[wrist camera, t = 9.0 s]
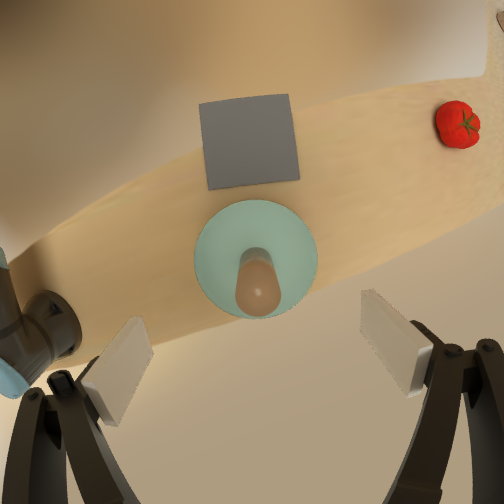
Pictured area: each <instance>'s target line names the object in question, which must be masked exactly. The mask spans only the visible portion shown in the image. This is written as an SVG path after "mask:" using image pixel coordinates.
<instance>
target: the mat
mask: <svg viewBox="0 0 504 504" xmlns="http://www.w3.org/2000/svg"><path fill="white" fill-rule="evenodd" d="M199 112H200V121H201V131H202V140H203V149H204V158H205V166H206V174H207V182H208V190H214V189H221V188H228V187H236V186H244V185H252V184H261V183H270V182H280V181H290V180H300V175H299V166H298V158H297V150H296V142H295V135H294V128H293V121H292V114H291V108H290V101H289V95H288V94H277V95H264V96H254V97H245V98H237V99H229V100H222V101H215V102H209V103H203V104H199Z"/></svg>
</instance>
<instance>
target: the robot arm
mask: <svg viewBox="0 0 504 504" xmlns="http://www.w3.org/2000/svg"><path fill="white" fill-rule="evenodd" d="M9 271H10V269H9V267H8V265H7V262H6V258H5V254H4V251H3V250H2V248H1V247H0V393H1V394H2V395H4V396H5V397H8V398H10V399H17V398H19V397H20V396H21V395H23V394H24V395H23V397H22V400H21V403H20V407H19V410H18V413H17V417H16V421H15V425H14V429H13V433H12V437H11V442H10V446H9V451H8V457H7V462H6V468H5V476H4V484H3V494H2V504H68V498H67V481H66V451H67V455H68V458H69V461H70V464H71V468H72V471H73V474H74V477H75V480H76V482H77V485H78V488H79V490H80V493H81V496H82V498H83V501H84V503H85V504H141V503H140V502H139V500H138V499H137V497H136V496H135V494H134V492H133V491H132V489H131V487H130V486H129V484H128V482H127V480H126V479H125V477H124V475H123V473H122V471H121V470H120V468H119V466H118V464H117V462H116V460H115V458H114V456H113V454H112V452H111V450H110V448H109V446H108V444H107V442H106V439H105V438H104V435H103V433H102V430H101V428H100V426H99V425H98V423H97V421H98V419H99V417H100V418H101V419H102V421H103V423H104V424H105V425H110V426H115V427H118V426H119V424H120V421H121V419H122V417H123V415H124V413H125V411H126V409H127V407H128V405H129V403H130V401H131V399H132V396H133V394H134V392H135V390H136V388H137V386H138V384H139V382H140V380H141V378H142V376H143V374H144V372H145V370H146V368H147V366H148V364H149V362H150V360H151V358H152V357H153V350H152V347H151V344H150V341H149V338H148V335H147V331H146V328H145V325H144V321H143V318H142V316H136V317H131V318H130V319H129V320H128V321H127V322H126V324H125V325H124V326H123V327H122V329H121V330H120V331H119V332H118V334H117V335H116V336H115V337H114V339H113V340H112V341H111V342H110V344H109V345H108V346H107V347H106V349H105V350H104V351H103V353H102V354H101V355H100V356H97V357H95V358H94V359H93V360H91V361H90V363H89V364H88V365H87V367H86V368H85V369H84V370H83V372H82V373H81V374H80V375H79V377H78V378H77V379H76V380H75V382H74V380H73V378H72V376H71V374H70V372H69V371H67V370H59V371H56V372H54V373H52V374H51V375H50V376H49V377H48V378H47V383H48V385H49V387H50V389H51V391H52V392H53V394H54V395H45V394H44V392H43V390H42V389H41V388H39V387H34V388H30V386H31V385H32V384H33V383H34V382H35V381H36V380H37V379H38V378H39V377H40V375H41V374H42V373H43V372H44V371H45V370H46V369H47V368H48V367H49V366H50V365H51V364H52V363H53V362H54V361H57V360H60V359H62V358H65V357H68V356H70V355H71V354H73V353H74V352H75V351H76V350H77V349H78V347H79V346H80V343H81V338H82V335H81V328H80V324H79V322H78V319H77V317H76V315H75V313H74V311H73V310H72V308H71V307H70V306H69V304H68V303H67V302H66V301H65V300H64V299H63V298H62V297H60V296H59V295H57V294H56V293H54V292H51V291H47V290H44V291H40V292H38V293H37V294H35V295H34V296H32V297H31V298H30V300H29V301H28V303H27V304H26V306H25V307H24V309H23V311H22V312H21V310H20V307H19V304H18V301H17V298H16V295H15V291H14V288H13V284H12V281H11V277H10V273H9ZM361 301H362V302H361V326H360V331H361V333H362V334H363V335H364V337H365V338H366V340H367V341H368V343H369V344H370V345H371V346H372V348H373V350H374V351H375V352H376V354H377V355H378V357H379V358H380V359H381V361H382V362H383V363H384V365H385V366H386V368H387V369H388V371H389V372H390V374H391V375H392V376H393V378H394V379H395V381H396V382H397V384H398V385H399V387H400V388H401V390H402V391H403V393H404V394H405V396H406V397H407V398H409V397H411V396H414V395H417V394H419V393H421V391H422V388H423V384H425V385H426V387H427V388H428V389H427V393H426V396H425V399H424V402H423V407H422V410H421V413H420V416H419V419H418V423H417V425H416V429H415V431H414V434H413V437H412V439H411V442H410V445H409V447H408V450H407V452H406V455H405V457H404V460H403V462H402V464H401V466H400V469H399V471H398V473H397V475H396V477H395V480H394V482H393V484H392V486H391V488H390V490H389V492H388V494H387V496H386V498H385V500H384V501H383V503H382V504H439V502H440V500H441V496H442V490H441V489H440V488H441V483H442V480H443V477H444V474H445V471H446V467H447V464H448V460H449V456H450V452H451V448H452V444H453V439H454V435H455V430H456V425H457V419H458V413H459V407H460V400H461V393H463V395H464V401H465V406H466V413H467V418H468V426H469V434H470V443H471V455H472V471H473V472H472V473H473V500H472V501H473V502H472V503H473V504H504V353H503V351H502V349H501V347H500V345H499V344H498V342H496V341H495V340H493V339H481V340H480V341H478V343H477V345H476V349H475V350H467V351H464V350H463V348H461V347H460V346H458V345H456V344H444V343H443V342H442V341H441V340H440V339H439V338H438V337H437V336H436V335H434V334H433V333H432V332H431V331H430V330H429V329H427V328H426V326H424V325H423V324H422V323H420V322H417V321H415V320H412V321H408V320H407V319H406V318H405V317H404V316H403V315H402V314H401V313H400V312H399V311H397V310H396V309H395V308H394V307H393V306H392V305H391V304H390V303H388V302H387V301H386V300H385V299H384V298H383V297H382V296H381V295H380V294H378V293H377V292H376V291H375V290H374V289H369V290H364V291H362V300H361Z"/></svg>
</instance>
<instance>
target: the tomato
mask: <svg viewBox="0 0 504 504" xmlns="http://www.w3.org/2000/svg"><path fill="white" fill-rule="evenodd" d="M436 123H437V128H438V129H439V131H440V137H441V139H442V140H443V142H444V143H445V144H446V145H447V146H449V147H453V148H454V147H456V148H459V149H466V148H469V147H471V146H473V145H475V144H476V143H477V142H478V140H479V134H478V130H479V129H480V120H479V118H478V116H477V115H475V114H474V113H473V112H472V108H471V107H470V106H469V105H467V104H466V103H464V102H461V101H457V100H456V101H450V102H447V103H445V104H443V105H442V106H441V107H440V109H439V110H438V112H437V115H436Z"/></svg>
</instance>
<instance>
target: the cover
mask: <svg viewBox="0 0 504 504" xmlns="http://www.w3.org/2000/svg"><path fill="white" fill-rule="evenodd" d="M194 266H195V272H196V276H197V279H198V282H199V284H200V286H201V288H202V290H203V291H204V293H205V294H206V296H207V297H208V298H209V299H210V300H211V301H212V302H213V303H214V304H215V305H216V306H218V307H219V308H220V309H222V310H224V311H225V312H227V313H229V314H232V315H234V316H237V317H241V318H246V319H263V318H270V317H273V316H277V315H279V314H281V313H284V312H285V311H287V310H289V309H291V308H292V307H293V306H295V305H296V304H297V303H298V302H299V301H300V300H301V299H302V298H303V297H304V296H305V295H306V293H307V292H308V290H309V288H310V287H311V285H312V283H313V280H314V277H315V274H316V269H317V249H316V245H315V241H314V238H313V236H312V234H311V232H310V230H309V228H308V227H307V225H306V224H305V223H304V222H303V220H302V219H301V218H300V217H299V216H298V215H296V214H295V213H294V212H292V211H291V210H290V209H288V208H286V207H284V206H282V205H280V204H278V203H275V202H272V201H267V200H259V199H254V200H245V201H240V202H237V203H234V204H232V205H229V206H227V207H225V208H224V209H222V210H221V211H219V212H218V213H217V214H216V215H215V216H213V217H212V218H211V219H210V220H209V222H208V223H207V224H206V225H205V227H204V228H203V230H202V231H201V233H200V236H199V238H198V240H197V243H196V247H195V253H194Z"/></svg>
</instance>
